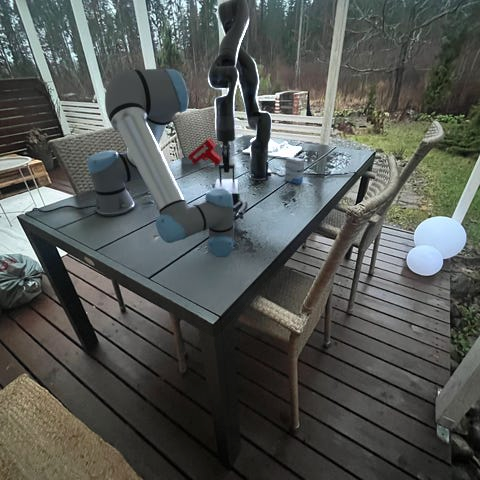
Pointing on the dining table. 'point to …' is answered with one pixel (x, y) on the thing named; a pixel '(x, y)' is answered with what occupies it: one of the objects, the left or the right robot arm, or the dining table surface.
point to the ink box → (294, 170)
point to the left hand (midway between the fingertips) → (226, 196)
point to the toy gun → (205, 153)
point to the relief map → (280, 150)
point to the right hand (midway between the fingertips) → (226, 171)
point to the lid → (228, 182)
